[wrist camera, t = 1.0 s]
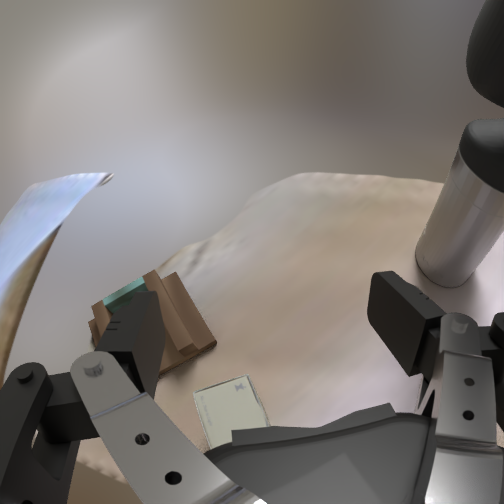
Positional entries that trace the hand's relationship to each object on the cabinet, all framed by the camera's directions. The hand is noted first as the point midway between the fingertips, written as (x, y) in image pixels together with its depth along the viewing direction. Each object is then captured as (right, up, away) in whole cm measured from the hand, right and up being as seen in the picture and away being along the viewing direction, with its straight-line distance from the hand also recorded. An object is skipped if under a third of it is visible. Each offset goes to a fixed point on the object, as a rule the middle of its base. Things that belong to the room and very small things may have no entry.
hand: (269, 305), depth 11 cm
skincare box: (-1, -16, +17) cm, 24 cm away
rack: (-13, -8, +25) cm, 29 cm away
